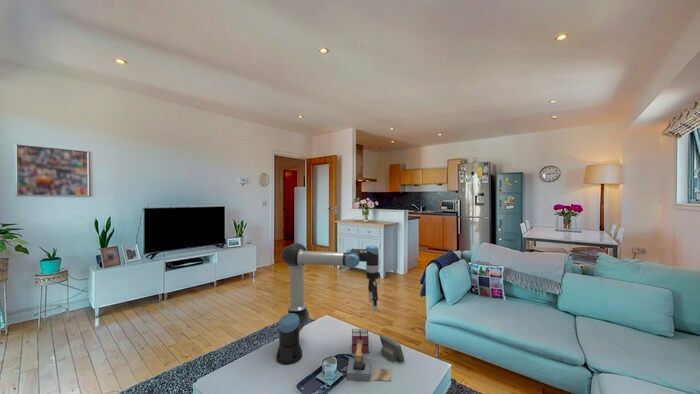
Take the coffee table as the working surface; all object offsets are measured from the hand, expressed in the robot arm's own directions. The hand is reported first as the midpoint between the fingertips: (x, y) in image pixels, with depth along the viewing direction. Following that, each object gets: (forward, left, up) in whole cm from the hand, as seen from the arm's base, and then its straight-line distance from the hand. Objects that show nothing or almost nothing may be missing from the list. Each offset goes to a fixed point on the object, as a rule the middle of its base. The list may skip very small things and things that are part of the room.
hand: (372, 306), depth 166 cm
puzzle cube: (-8, +3, -28) cm, 29 cm away
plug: (-7, -21, -27) cm, 35 cm away
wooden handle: (-7, -21, -17) cm, 28 cm away
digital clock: (+11, -4, -28) cm, 30 cm away
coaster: (+5, -22, -27) cm, 36 cm away
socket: (-7, -21, -27) cm, 35 cm away
